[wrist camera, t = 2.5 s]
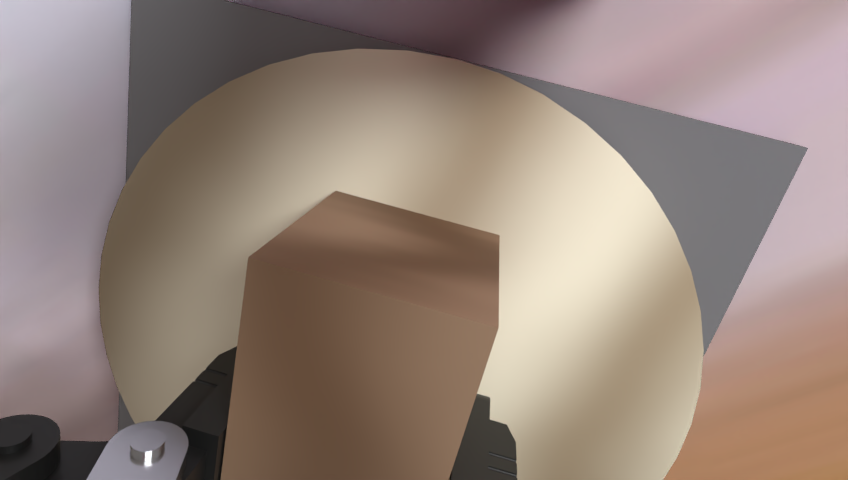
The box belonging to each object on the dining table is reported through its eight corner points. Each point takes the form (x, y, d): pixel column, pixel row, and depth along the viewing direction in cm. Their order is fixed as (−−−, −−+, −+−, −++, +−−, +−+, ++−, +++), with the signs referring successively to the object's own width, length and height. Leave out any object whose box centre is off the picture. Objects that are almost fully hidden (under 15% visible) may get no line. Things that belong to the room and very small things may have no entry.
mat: (795, 145, 12) (808, 148, 11) (568, 606, 17) (570, 621, 17) (145, -20, 13) (132, -24, 12) (126, 470, 18) (116, 481, 18)
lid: (807, 148, 11) (1062, 216, 6) (570, 621, 17) (600, 865, 12) (133, -23, 12) (-135, -87, 7) (117, 480, 18) (-40, 650, 13)
